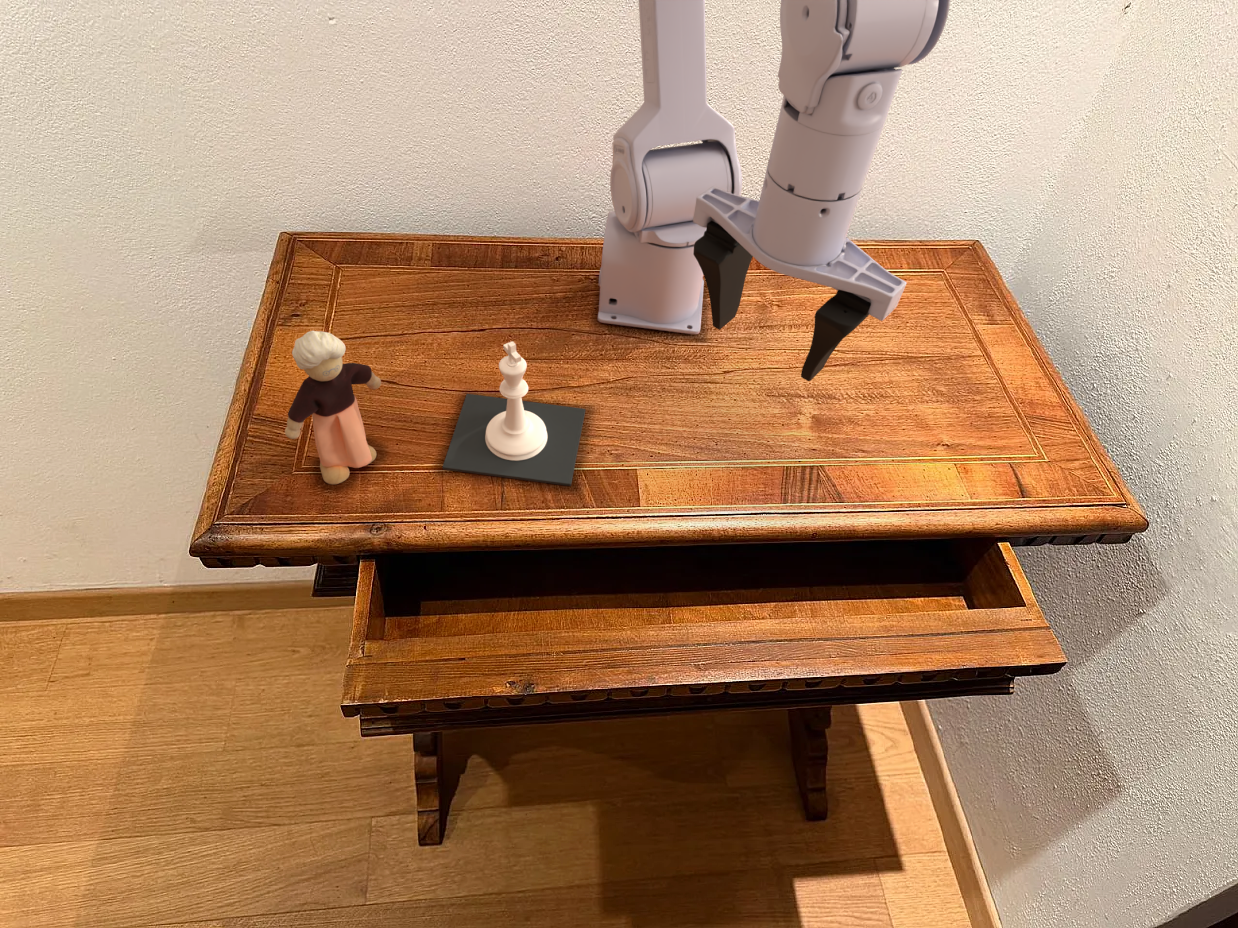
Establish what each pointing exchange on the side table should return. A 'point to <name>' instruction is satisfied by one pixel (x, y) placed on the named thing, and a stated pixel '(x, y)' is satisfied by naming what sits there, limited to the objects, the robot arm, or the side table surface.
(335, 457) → the grandmother figurine
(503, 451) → the chess piece
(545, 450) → the felt mat
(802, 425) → the side table surface
